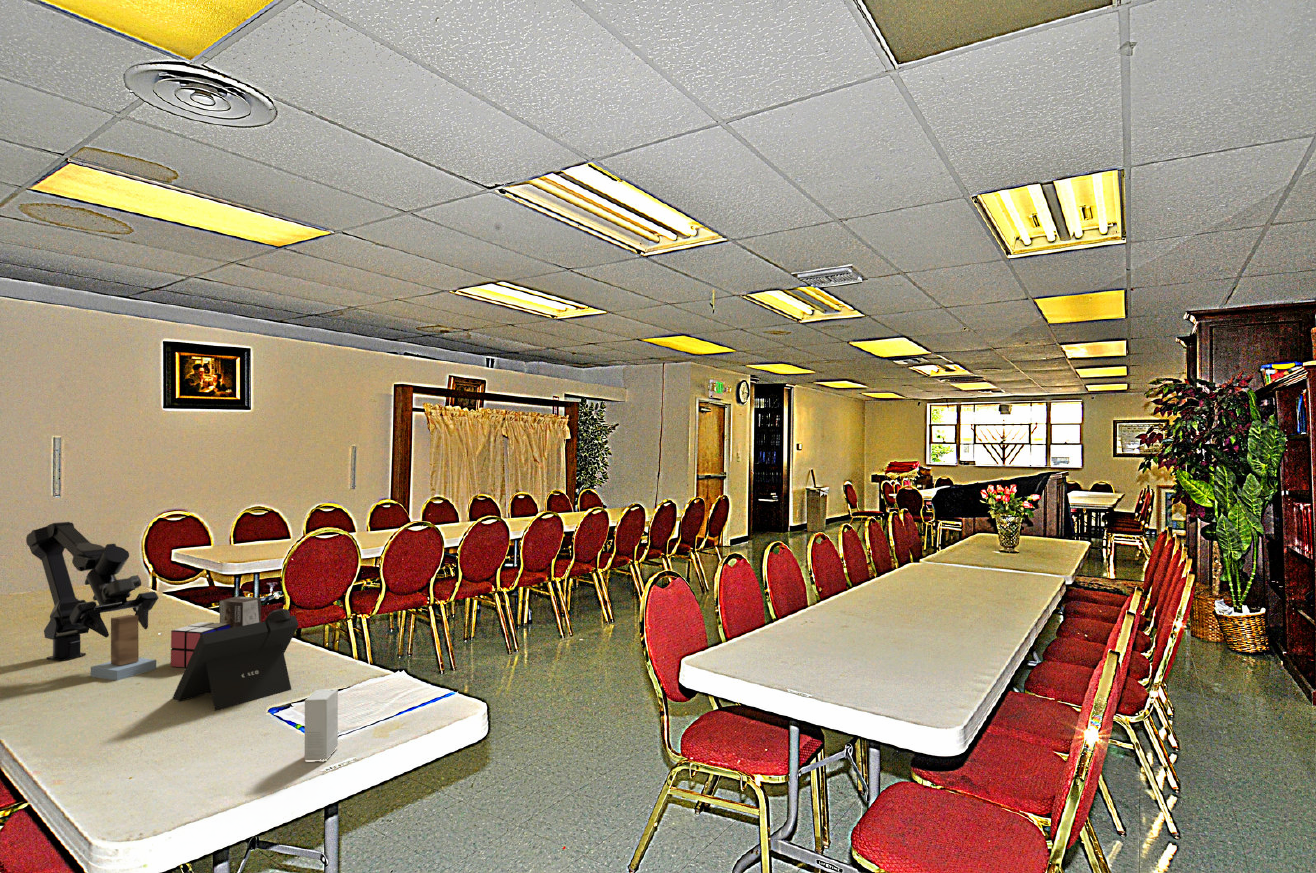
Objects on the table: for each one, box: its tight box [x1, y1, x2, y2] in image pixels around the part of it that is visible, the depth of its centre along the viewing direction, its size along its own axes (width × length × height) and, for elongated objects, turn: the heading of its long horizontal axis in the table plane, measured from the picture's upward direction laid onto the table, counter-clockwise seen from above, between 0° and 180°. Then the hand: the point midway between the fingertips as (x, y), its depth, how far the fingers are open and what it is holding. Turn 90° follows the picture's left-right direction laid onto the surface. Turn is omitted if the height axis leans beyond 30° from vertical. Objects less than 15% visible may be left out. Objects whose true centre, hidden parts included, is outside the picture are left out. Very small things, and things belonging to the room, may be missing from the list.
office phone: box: [172, 608, 300, 712], centre depth 178 cm, size 29×28×20 cm
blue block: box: [90, 656, 157, 682], centre depth 187 cm, size 10×10×3 cm
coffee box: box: [219, 596, 262, 628], centre depth 203 cm, size 9×6×16 cm
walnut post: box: [110, 614, 139, 666], centre depth 187 cm, size 4×4×12 cm
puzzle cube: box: [170, 621, 230, 669], centre depth 196 cm, size 10×10×10 cm
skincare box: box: [304, 688, 339, 761], centre depth 137 cm, size 6×4×12 cm
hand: (127, 632), depth 186 cm, fingers open, 9 cm apart
